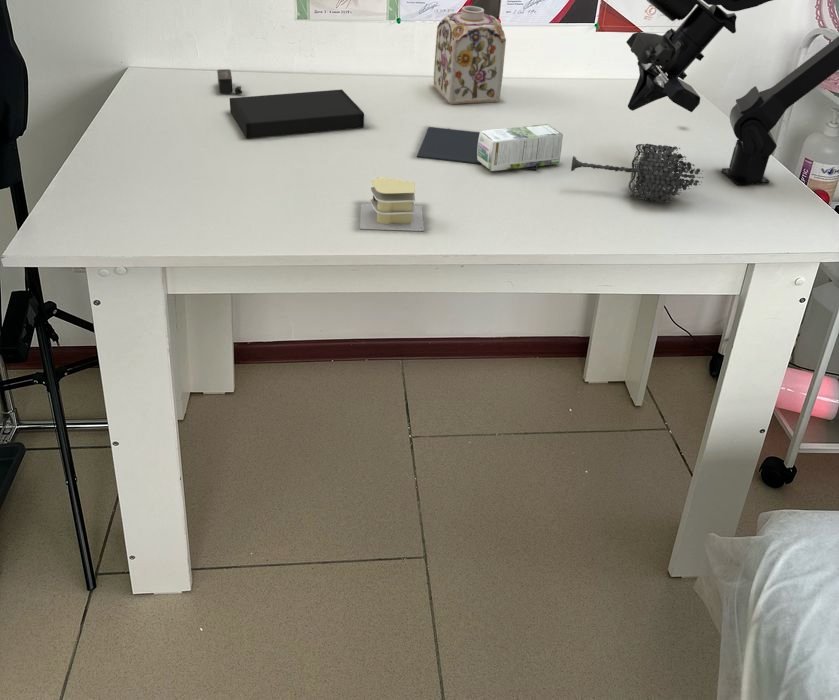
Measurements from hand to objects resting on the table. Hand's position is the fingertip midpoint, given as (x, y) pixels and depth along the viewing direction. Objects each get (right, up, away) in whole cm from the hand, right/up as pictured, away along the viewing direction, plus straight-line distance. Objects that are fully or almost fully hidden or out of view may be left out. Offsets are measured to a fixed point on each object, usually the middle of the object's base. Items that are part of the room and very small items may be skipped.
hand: (629, 108), depth 163 cm
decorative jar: (-28, +12, +33) cm, 45 cm away
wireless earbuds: (-78, +11, +27) cm, 83 cm away
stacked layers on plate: (-42, -22, -17) cm, 51 cm away
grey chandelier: (-1, -17, -5) cm, 18 cm away
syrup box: (-13, -5, +4) cm, 14 cm away
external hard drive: (-62, +2, +16) cm, 64 cm away
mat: (-26, -5, +9) cm, 28 cm away
